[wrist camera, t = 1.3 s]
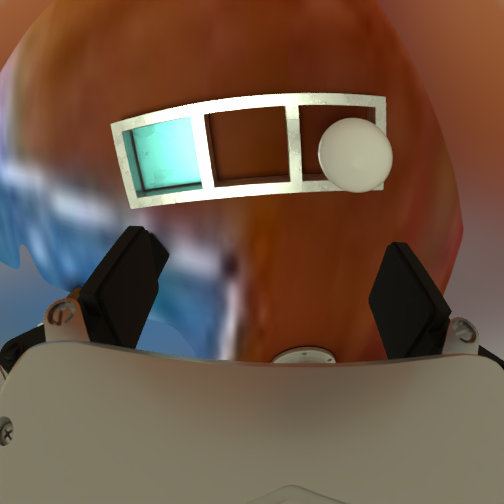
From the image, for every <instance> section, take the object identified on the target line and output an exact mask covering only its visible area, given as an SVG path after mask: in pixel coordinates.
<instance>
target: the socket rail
mask: <svg viewBox="0 0 504 504" xmlns="http://www.w3.org/2000/svg"><path fill="white" fill-rule="evenodd" d="M298 105H352V106H367V121H369V122H371V123H373V124H375V125H376V126H377V127H379V128H380V129H381V130H382V131H383V133H384V134H385V135H386V97H381V96H371V95H358V94H337V93H292V94H272V95H258V96H247V97H238V98H229V99H222V100H215V101H208V102H202V103H196V104H190V105H185V106H180V107H175V108H170V109H166V110H161V111H157V112H153V113H149V114H145V115H141V116H137V117H133V118H130V119H126V120H123V121H119V122H116V123H113V124H111V128H112V133H113V138H114V143H115V148H116V152H117V157H118V161H119V165H120V169H121V173H122V177H123V181H124V185H125V189H126V193H127V196H128V200H129V204H130V207H131V209H134V208H141V207H149V206H156V205H164V204H172V203H180V202H189V201H198V200H207V199H217V198H228V197H239V196H251V195H265V194H280V193H297V192H318V191H345V190H343V189H341V188H339V187H337V186H336V185H334V184H333V183H332V182H331V181H330V180H329V179H328V178H327V177H326V176H325V174H302V162H301V142H300V126H299V111H298ZM269 106H284V113H285V126H286V140H287V154H288V171H289V175H282V176H267V177H254V178H242V179H231V180H221V181H218V179H217V172H216V166H215V159H214V152H213V145H212V138H211V131H210V124H209V117H208V113H213V112H220V111H227V110H236V109H245V108H256V107H269ZM188 116H191V117H188ZM183 117H187V118H183ZM177 118H182V119H177ZM172 119H177V120H172ZM167 120H172V121H167ZM163 121H167V122H163ZM158 122H162V123H158ZM154 123H157V124H154ZM149 124H153V125H149ZM145 125H149V126H145ZM141 126H145V127H141ZM137 127H140V128H137ZM133 128H137V129H133ZM132 129H133V130H132ZM132 132H133V134H132ZM133 137H134V139H133ZM134 142H135V144H134ZM135 147H136V149H135ZM136 152H137V153H136ZM137 156H138V158H137ZM138 161H139V162H138ZM139 165H140V167H139ZM140 170H141V171H140ZM141 174H142V176H141ZM142 178H143V180H142ZM196 182H202V183H196ZM143 183H144V184H143ZM188 183H195V184H188ZM180 184H187V185H180ZM173 185H180V186H173ZM383 185H384V182H383V183H382V184H381V185H379V186H378V187H376V188H375V189H373V190H383ZM166 186H172V187H166ZM144 187H145V188H144ZM159 187H165V188H159ZM153 188H159V189H153ZM147 189H152V190H147ZM145 190H146V191H145Z"/></svg>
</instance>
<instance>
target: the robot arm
mask: <svg viewBox="0 0 504 504" xmlns="http://www.w3.org/2000/svg"><path fill="white" fill-rule="evenodd" d="M158 289H159V285H158V280H157V275H156V270H155V265H154V259H153V254H152V248H151V243H150V237H149V232H148V231H147V230H145V229H144V227H143V226H129V227H128V228H127V229H126V230H125V231H124V232H123V234H122V235H121V236H120V237H119V239H118V240H117V241H116V243H115V244H114V245H113V246H112V248H111V249H110V250H109V252H108V253H107V254H106V256H105V257H104V258H103V259H102V261H101V262H100V264H99V265H98V266H97V268H96V269H95V270H94V272H93V273H92V275H91V276H90V277H89V279H88V280H87V282H86V283H85V285H84V286H83V287H82V289H81V290H80V292H79V295H80V296H79V298H78V299H77V301H76V300H75V299H72V298H63V299H60V300H57V301H55V302H54V303H53V304H51V305H50V306H49V307H48V309H47V310H46V312H45V315H44V324H42V325H40V326H38V327H36V328H34V329H32V330H30V331H28V332H25V333H23V334H21V335H19V336H17V337H15V338H13V339H11V340H10V341H8V342H7V343H6V344H5V345H4V346H3V347H2V349H1V352H0V504H504V361H503V360H501V359H500V358H498V357H497V356H495V355H494V354H492V353H491V352H489V351H488V350H486V349H485V348H483V347H482V346H480V345H479V333H478V331H477V329H476V328H475V326H474V325H473V324H472V323H471V322H469V321H468V320H467V319H464V318H461V317H455V318H453V319H451V321H450V319H449V315H450V314H451V312H452V311H451V309H450V308H449V306H448V304H447V303H446V301H445V299H444V298H443V296H442V294H441V293H440V291H439V290H438V288H437V286H436V285H435V283H434V282H433V280H432V279H431V277H430V276H429V274H428V273H427V271H426V270H425V268H424V267H423V265H422V264H421V262H420V261H419V260H418V258H417V257H416V255H415V254H414V253H413V251H412V250H411V248H410V247H409V246H408V244H407V243H403V242H392V243H391V245H388V246H387V249H386V252H385V255H384V257H383V260H382V263H381V266H380V269H379V272H378V274H377V277H376V280H375V282H374V285H373V288H372V290H371V293H370V295H369V305H370V308H371V311H372V313H373V316H374V319H375V322H376V324H377V327H378V330H379V333H380V336H381V339H382V342H383V345H384V348H385V351H386V354H387V357H388V360H380V361H366V362H347V363H336V361H335V358H334V356H333V354H332V353H331V352H329V351H327V350H325V349H322V348H317V347H300V348H294V349H290V350H288V351H285V352H283V353H281V354H279V355H278V356H276V357H275V358H274V359H273V360H272V362H271V363H262V362H243V361H229V360H216V359H206V358H196V357H187V356H179V355H170V354H164V353H156V352H151V351H144V350H137V349H135V348H136V345H137V342H138V340H139V337H140V335H141V332H142V330H143V327H144V325H145V322H146V320H147V317H148V315H149V312H150V310H151V308H152V305H153V303H154V301H155V298H156V296H157V293H158Z"/></svg>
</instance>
